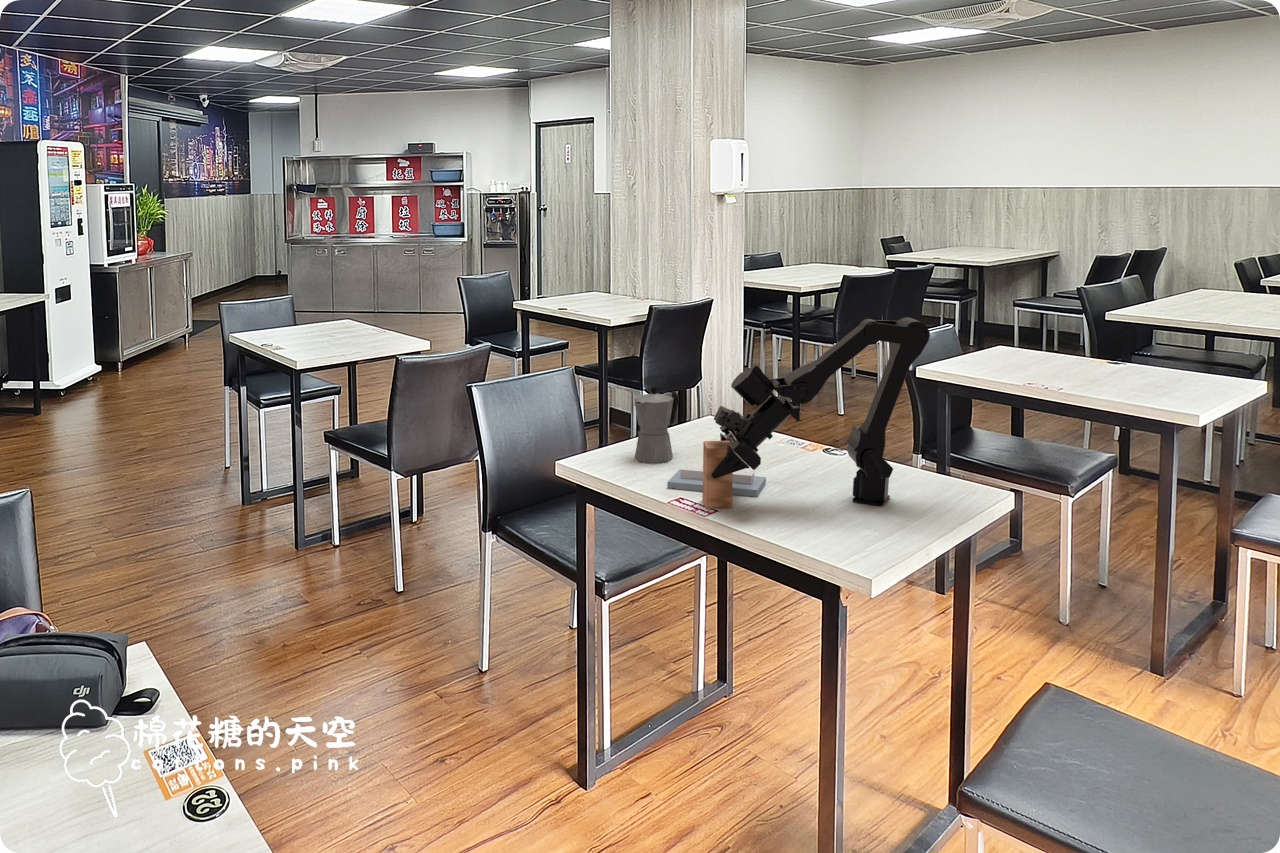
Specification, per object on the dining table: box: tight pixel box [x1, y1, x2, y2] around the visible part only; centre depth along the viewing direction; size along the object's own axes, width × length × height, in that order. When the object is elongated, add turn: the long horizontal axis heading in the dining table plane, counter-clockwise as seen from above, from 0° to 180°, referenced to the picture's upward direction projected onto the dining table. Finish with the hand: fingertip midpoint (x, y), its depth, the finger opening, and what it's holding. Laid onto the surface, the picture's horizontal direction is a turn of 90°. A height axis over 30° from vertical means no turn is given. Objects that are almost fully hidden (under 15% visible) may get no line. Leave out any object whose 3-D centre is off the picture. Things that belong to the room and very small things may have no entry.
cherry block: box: [702, 440, 733, 509], centre depth 210 cm, size 5×5×13 cm
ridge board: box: [666, 465, 767, 498], centre depth 223 cm, size 20×10×4 cm, turn 72°
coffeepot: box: [633, 385, 680, 464], centre depth 243 cm, size 15×9×18 cm, turn 137°
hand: (710, 472), depth 210 cm, fingers closed on cherry block, 6 cm apart
